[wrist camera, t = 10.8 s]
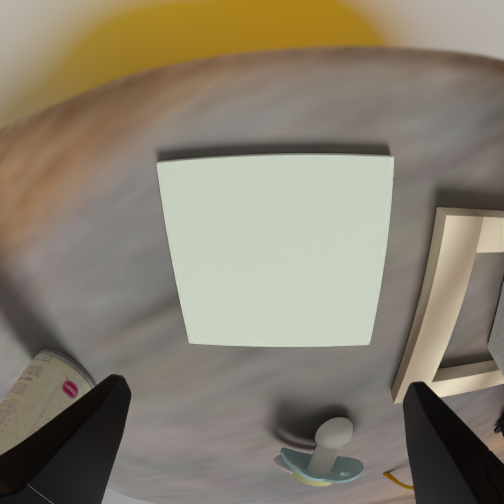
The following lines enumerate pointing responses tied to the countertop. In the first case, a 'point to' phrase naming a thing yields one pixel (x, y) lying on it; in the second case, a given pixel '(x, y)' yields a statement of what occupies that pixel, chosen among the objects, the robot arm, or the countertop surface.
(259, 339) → the sage mat
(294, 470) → the pacifier
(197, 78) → the countertop surface
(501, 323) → the skincare box
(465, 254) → the wooden frame
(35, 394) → the aerosol can
